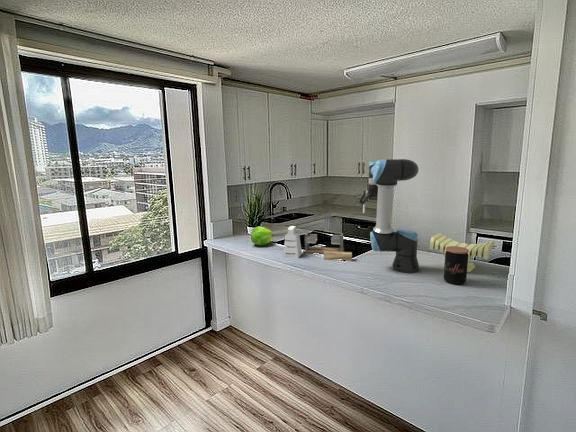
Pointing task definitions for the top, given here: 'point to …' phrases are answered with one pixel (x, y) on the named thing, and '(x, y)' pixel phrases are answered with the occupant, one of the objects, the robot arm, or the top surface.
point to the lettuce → (261, 236)
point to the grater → (292, 243)
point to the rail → (338, 255)
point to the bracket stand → (310, 250)
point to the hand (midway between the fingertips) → (373, 213)
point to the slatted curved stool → (474, 249)
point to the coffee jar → (456, 265)
